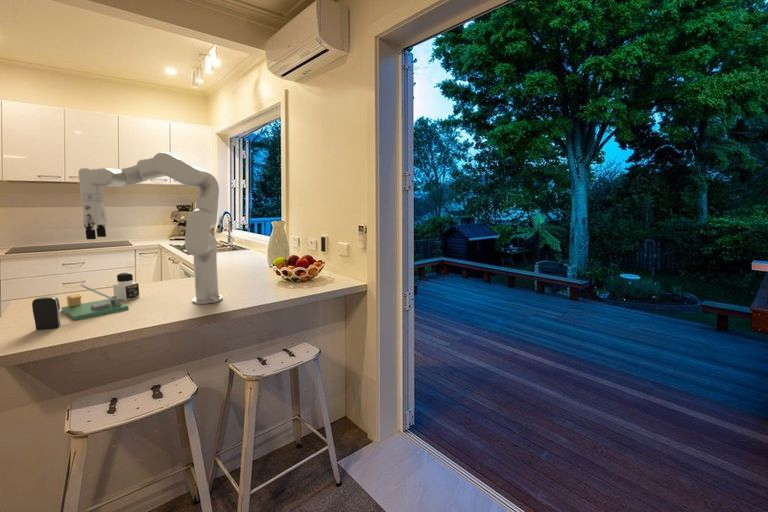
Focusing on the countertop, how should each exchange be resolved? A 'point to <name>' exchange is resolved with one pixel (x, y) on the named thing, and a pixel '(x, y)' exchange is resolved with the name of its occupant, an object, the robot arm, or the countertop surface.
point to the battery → (46, 312)
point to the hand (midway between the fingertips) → (96, 238)
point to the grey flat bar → (98, 292)
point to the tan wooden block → (73, 300)
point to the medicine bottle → (126, 287)
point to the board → (95, 308)
